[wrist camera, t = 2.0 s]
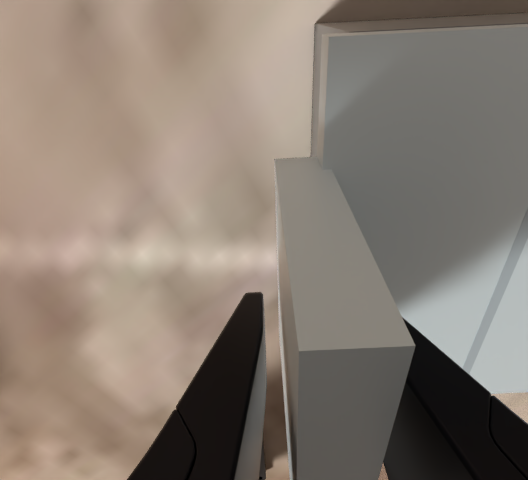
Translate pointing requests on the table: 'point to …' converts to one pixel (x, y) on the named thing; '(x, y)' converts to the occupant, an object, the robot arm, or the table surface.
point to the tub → (392, 26)
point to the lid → (402, 234)
